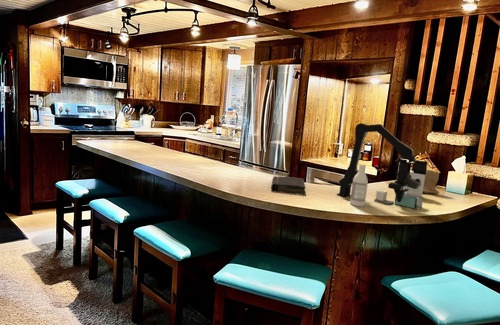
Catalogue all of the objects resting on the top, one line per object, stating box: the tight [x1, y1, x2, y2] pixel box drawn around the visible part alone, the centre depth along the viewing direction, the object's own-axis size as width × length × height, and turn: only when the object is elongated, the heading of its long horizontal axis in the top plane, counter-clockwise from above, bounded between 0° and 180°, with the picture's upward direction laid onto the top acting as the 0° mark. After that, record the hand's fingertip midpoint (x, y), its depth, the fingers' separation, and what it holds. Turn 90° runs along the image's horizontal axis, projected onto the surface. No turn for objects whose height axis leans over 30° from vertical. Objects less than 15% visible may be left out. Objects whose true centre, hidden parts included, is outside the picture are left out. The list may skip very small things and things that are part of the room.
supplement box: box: [405, 169, 425, 197], centre depth 224 cm, size 9×9×15 cm
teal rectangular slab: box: [393, 195, 416, 209], centre depth 193 cm, size 10×2×5 cm, turn 47°
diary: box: [270, 175, 306, 195], centre depth 211 cm, size 19×25×5 cm
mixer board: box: [373, 198, 395, 206], centre depth 198 cm, size 6×8×1 cm
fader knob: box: [375, 189, 388, 201], centre depth 199 cm, size 4×4×5 cm
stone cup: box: [422, 169, 440, 194], centre depth 242 cm, size 15×12×15 cm
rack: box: [403, 193, 424, 210], centre depth 195 cm, size 9×12×6 cm
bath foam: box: [349, 163, 369, 208], centre depth 184 cm, size 7×7×20 cm
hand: (399, 202), depth 193 cm, fingers closed
